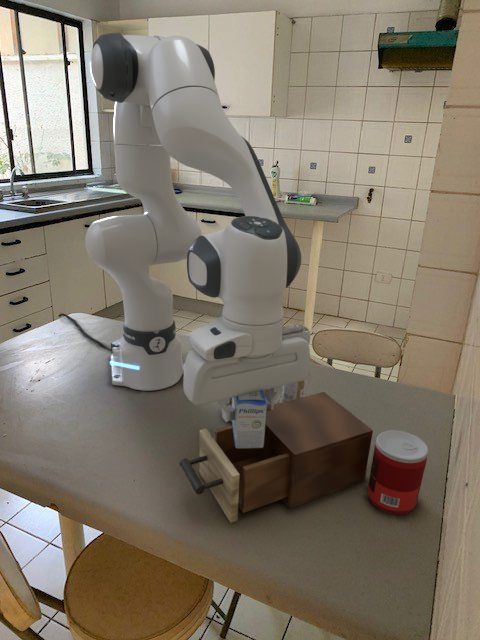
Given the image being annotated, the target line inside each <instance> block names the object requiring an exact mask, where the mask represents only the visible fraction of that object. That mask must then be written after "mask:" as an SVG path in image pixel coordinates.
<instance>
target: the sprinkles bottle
mask: <svg viewBox="0 0 480 640" xmlns="http://www.w3.org/2000/svg"><path fill="white" fill-rule="evenodd" d="M304 389H305V380H304V381H301V382H296V383H292V384H288V385H284V386H282V402H286V401H290V400H294V399H298V398H302V397H304V393H305V392H304Z"/></svg>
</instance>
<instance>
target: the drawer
mask: <svg viewBox="0 0 480 640" xmlns="http://www.w3.org/2000/svg"><path fill="white" fill-rule="evenodd" d="M291 459H292V456H291V455H290V454H289V453H288V451H287V450H286V449H285V448H284V447H283V446H282V445H281V444H280V443H279V442H278V441H277V440H276V439H275V438H274V436H273V435H272V434H271V433H270V432H269V431H268V430H267V429H266V428H265V435H264V446H263V448H236V447H235V441H234V434H233V428H232V424H231V425H229V426H224V427H220V428H216V429H215V430H214V437H213V436H212V435H211V433H210V432H209V430H208V429H207V428H203V429H200V430H199V456H198V457H195V458H193V459H188V458H185V457H184V458H181V460H180V461H179V466H180V468H181V470H182V472H183V473H184V474H185V475H184V476H186V478H187V480H188V482H189V483H190V485H191V487H192V488H193V490H194V492H195V494H196V495H202V494H204V493H205V491H206V490H208V489H209V490H210V492H211V494H212V495H213V497H214V499H215V500H216V502H217V503H218V505H219V506H220V508H221V510H222V511H223V513H224V515H225V516H226V518H227V519H228V521H229V523H230V524H231V523H234V522H237V521H238V519H239V509H240V511H241V512H242V514H245V513H247V512H250V511H252V510H256V509H258V508H261V507H263V506H266V505H267V506H268V505H269V504H272V503H275V502H278V501H281V500H282V499H283V498H286V497H288V490H289V480H290V469H291ZM197 464H199V466H198V467H199V468H198V469H199V470H198V471H199V474H200V477H201V478H202V479H203V481H204V482H205V483H203V482H202V480H201V479H200V477H199V476H198V474H197V472H196V470H195V469H194V467H193V466H192V465H197Z"/></svg>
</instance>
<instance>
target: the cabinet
mask: <svg viewBox="0 0 480 640" xmlns="http://www.w3.org/2000/svg"><path fill="white" fill-rule="evenodd" d="M265 428H266V429H267V430H268V431H269V432H270V433H271V434H272V435H273V436H274V438H275V439H276V440H277V441H278V442H279V443H280V444H281V445H282V446H283V447H284V448H285V449H286V450H287V451H288V453H289V454H290V455H291V456H292V459H291V469H290V480H289V490H288V497H286V498H283V499H281V500H282V501H283V503H284V504H285V505H286V507H287V508H288V509H289V510H291V509H293V508H296V507H298V506H301V505H304V504H307V503H309V502H312V501H315V500H318V499H320V498H323V497H325V496H328V495H331V494H334V493H336V492H338V491H342V490H344V489H346V488H349V487H352V486H354V485H358V484H361V483H363V482H365V479H366V474H367V469H368V468H367V467H368V463H369V456H370V450H371V444H372V439H373V433H374V429H372V428H371V427H369V426H368V425H367V424H366V423H365V422H363V421H362V420H361V419H360V418H358V417H357V416H356V415H354V414H353V413H352V412H350V411H349V410H348V409H346V408H345V407H344V406H343V405H342V404H340V403H339V402H338V401H336V400H335V399H334V398H332V397H331V396H330V395H328V394H327V393H326V392H324V391H322V392H317V393H314V394H310V395H305V396H303V397H302V398H298V399H294V400H290V401H286V402H283V401H282V402H278V403H274V409H273V410H270V411H266V420H265Z"/></svg>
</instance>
